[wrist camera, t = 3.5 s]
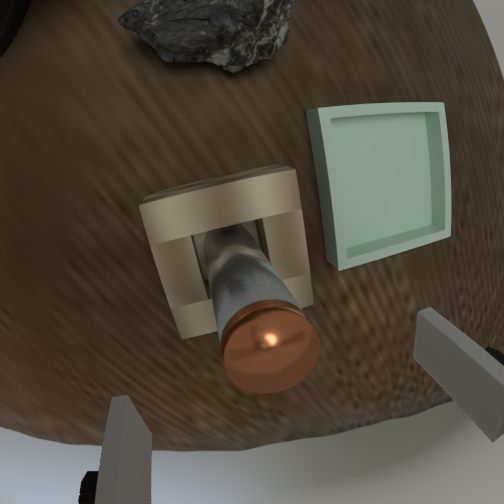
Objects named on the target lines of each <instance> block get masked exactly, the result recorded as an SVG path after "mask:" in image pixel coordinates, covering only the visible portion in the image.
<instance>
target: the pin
mask: <svg viewBox="0 0 504 504" xmlns="http://www.w3.org/2000/svg"><path fill="white" fill-rule="evenodd" d="M203 248H204V254H205V260H206V266H207V273H208V279H209V284H210V290H211V296H212V302H213V308H214V313H215V319H216V324H217V330H218V335H219V340H220V345H221V351H222V356H223V361H224V366H225V370H226V373H227V375H228V377H229V378H230V380H231V381H232V382H233V383H234V384H235V385H237V386H238V387H240V388H241V389H243V390H246V391H249V392H253V393H262V394H265V393H274V392H279V391H282V390H285V389H288V388H290V387H292V386H294V385H296V384H297V383H299V382H300V381H302V380H303V379H304V378H305V377H306V376H307V375H308V374H309V373H310V372H311V371H312V369H313V368H314V366H315V365H316V363H317V361H318V358H319V355H320V350H321V344H320V339H319V336H318V334H317V332H316V330H315V329H314V327H313V326H312V324H311V323H310V321H309V320H308V318H307V317H306V315H305V314H304V312H303V311H302V309H301V308H300V306H299V305H298V303H297V302H296V300H295V299H294V297H293V296H292V294H291V293H290V292H289V290H288V289H287V287H286V286H285V284H284V283H283V281H282V280H281V278H280V277H279V275H278V274H277V272H276V271H275V269H274V268H273V266H272V265H271V263H270V262H269V260H268V259H267V258H266V256H265V255H264V253H263V252H262V250H261V249H260V247H259V246H258V244H257V243H256V241H255V240H254V238H253V237H252V235H251V234H250V233H249V231H248V230H247V228H246V227H245V226H243V225H242V224H240V223H239V224H234V225H230V226H226V227H222V228H218V229H214V230H210V231H208V232H207V233H206V235H205V238H204V242H203Z"/></svg>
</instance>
